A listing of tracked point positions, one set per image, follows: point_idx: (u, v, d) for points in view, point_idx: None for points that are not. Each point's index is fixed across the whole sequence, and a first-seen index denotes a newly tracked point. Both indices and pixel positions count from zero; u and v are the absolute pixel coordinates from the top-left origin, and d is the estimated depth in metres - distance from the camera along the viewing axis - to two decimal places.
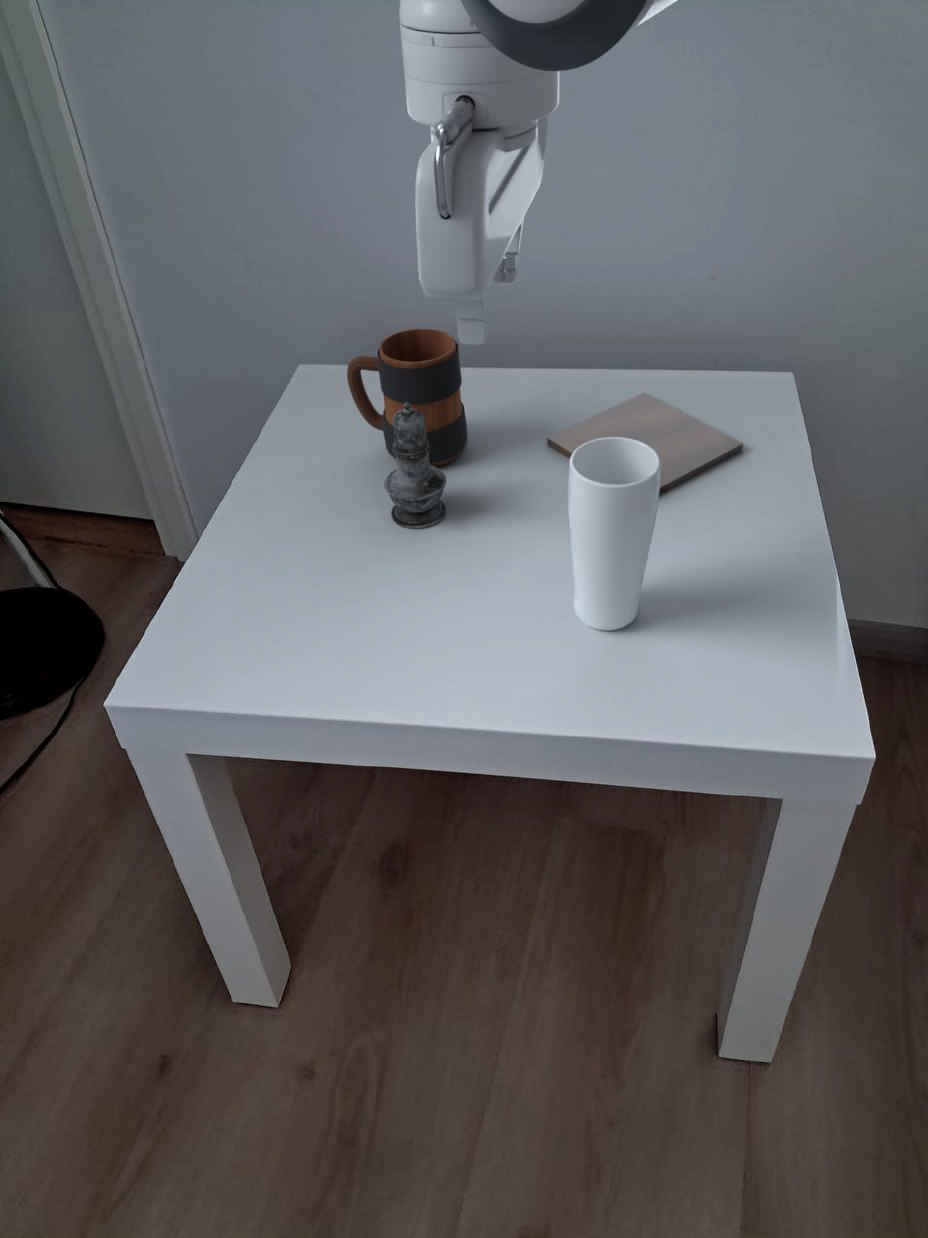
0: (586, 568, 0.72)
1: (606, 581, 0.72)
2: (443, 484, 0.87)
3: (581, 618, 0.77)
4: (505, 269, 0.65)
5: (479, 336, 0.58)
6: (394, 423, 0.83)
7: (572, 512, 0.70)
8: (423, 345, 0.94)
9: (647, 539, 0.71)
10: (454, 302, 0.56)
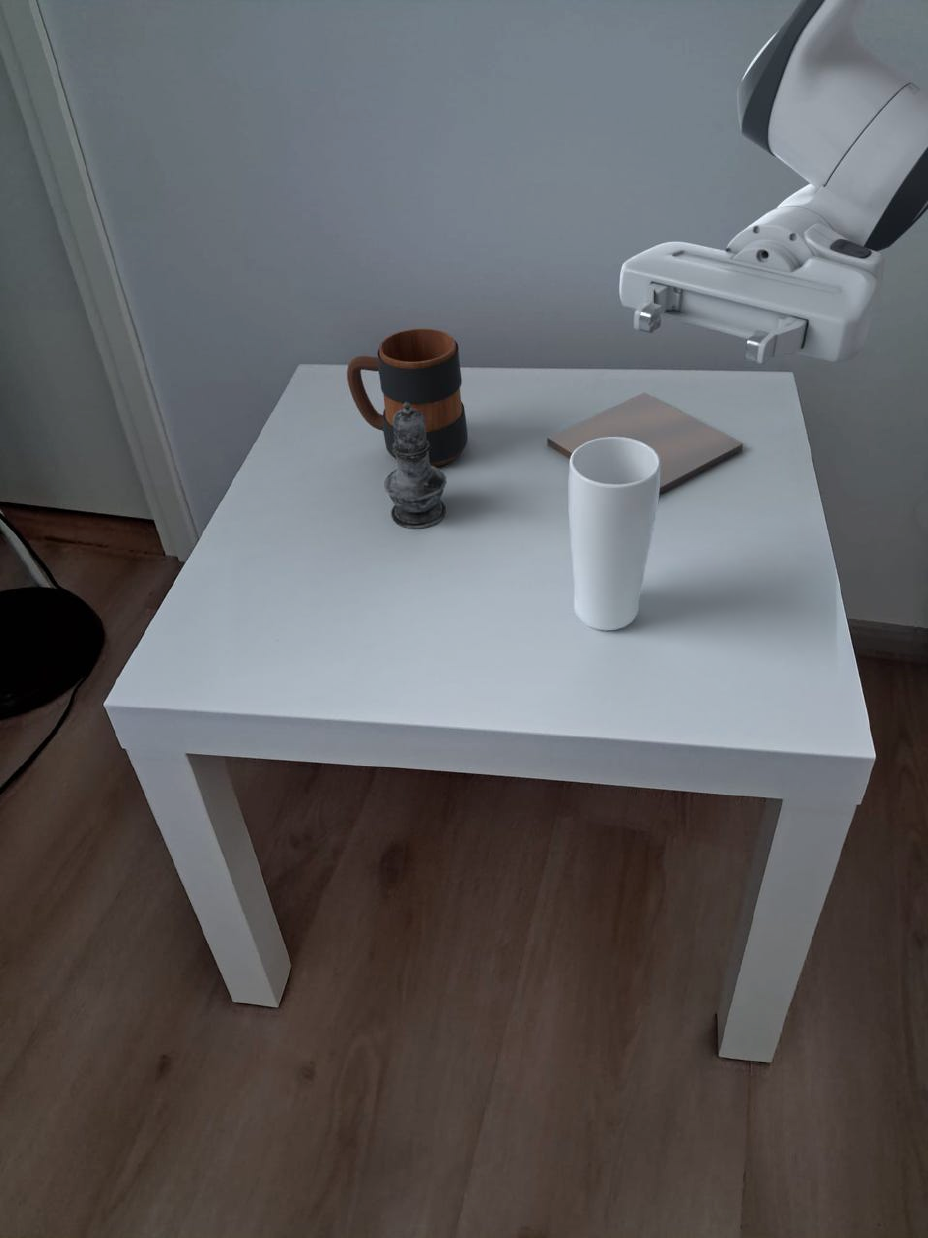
0: (586, 568, 0.72)
1: (606, 581, 0.72)
2: (443, 484, 0.87)
3: (581, 618, 0.77)
4: None
5: None
6: (394, 423, 0.83)
7: (572, 512, 0.70)
8: (423, 345, 0.94)
9: (647, 539, 0.71)
10: None
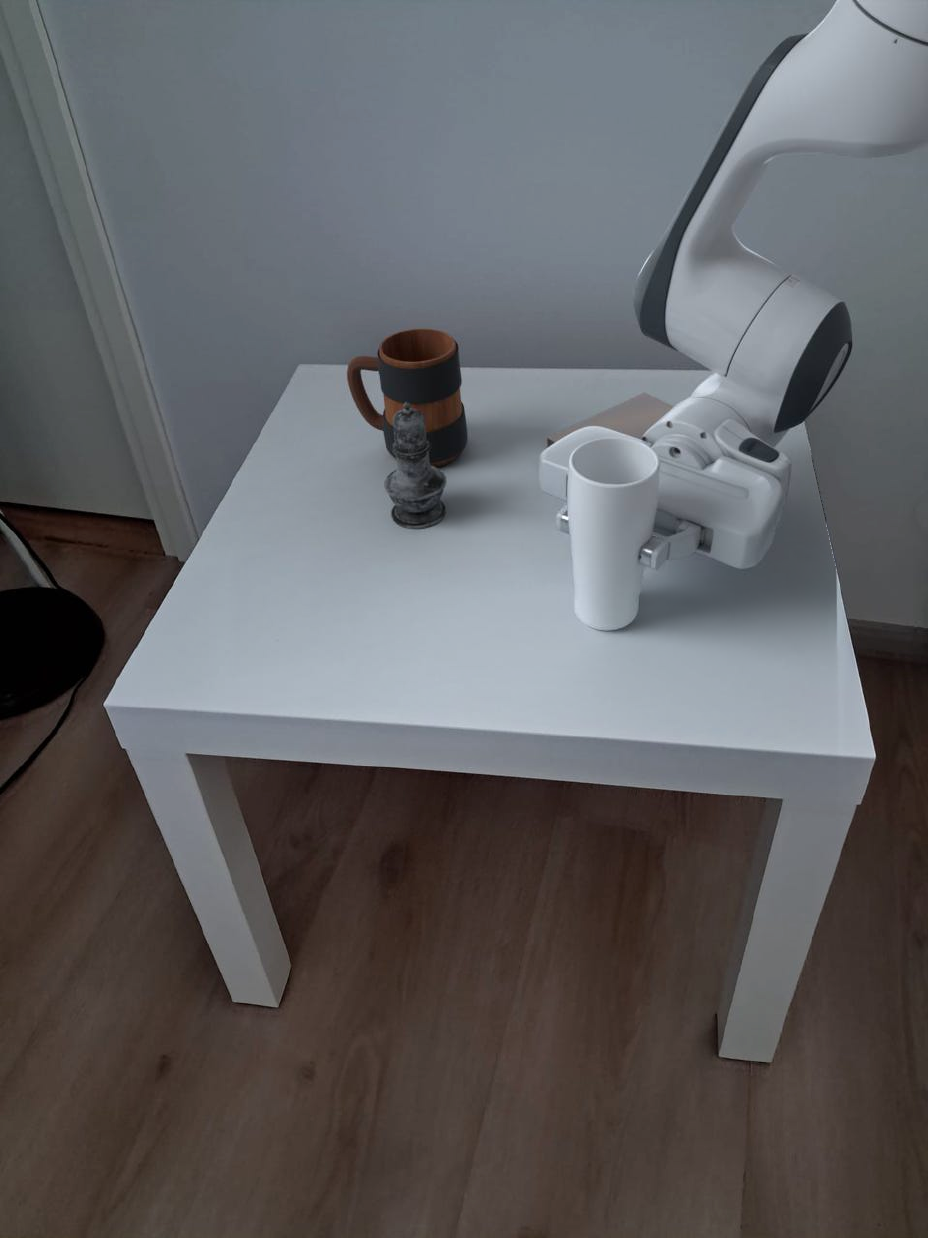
0: (586, 568, 0.72)
1: (606, 581, 0.72)
2: (443, 484, 0.87)
3: (581, 618, 0.77)
4: None
5: None
6: (394, 423, 0.83)
7: (571, 512, 0.70)
8: (423, 345, 0.94)
9: (647, 539, 0.71)
10: None
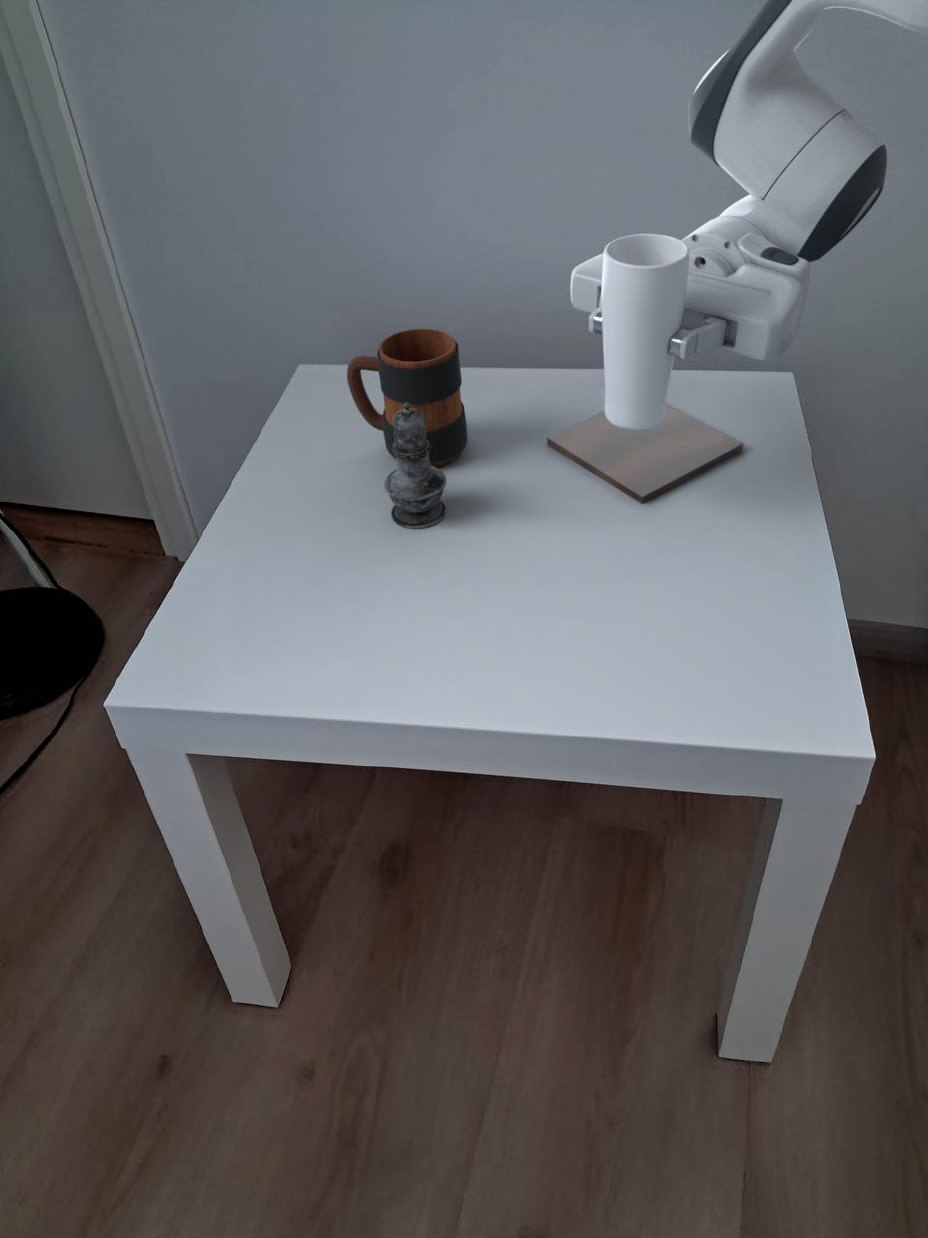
0: (618, 361, 0.77)
1: (637, 373, 0.77)
2: (443, 484, 0.87)
3: (611, 419, 0.82)
4: None
5: None
6: (394, 423, 0.83)
7: (606, 303, 0.75)
8: (423, 345, 0.94)
9: (676, 330, 0.76)
10: None
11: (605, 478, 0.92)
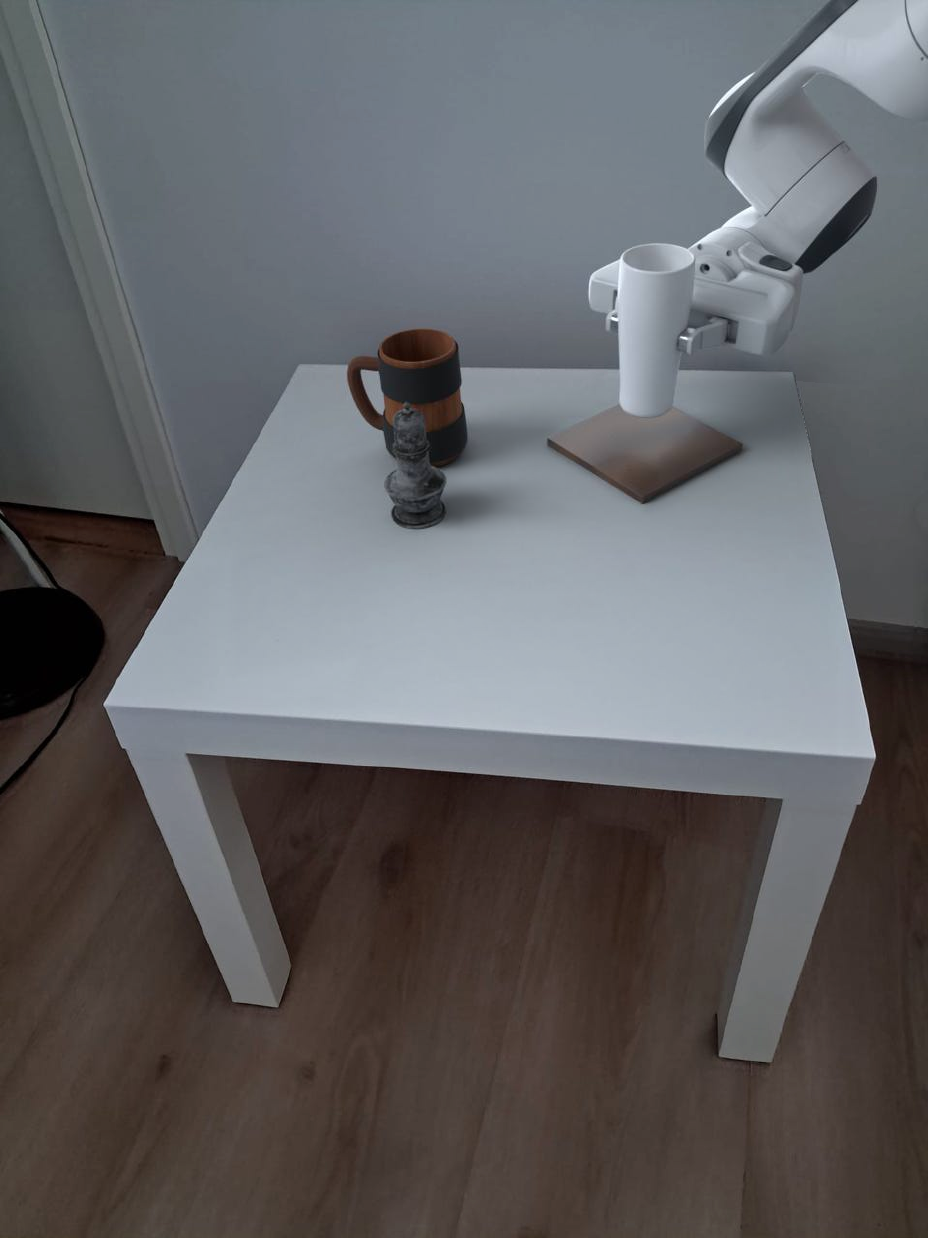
0: (632, 355, 0.87)
1: (649, 366, 0.87)
2: (443, 484, 0.87)
3: (626, 408, 0.92)
4: None
5: None
6: (394, 423, 0.83)
7: (621, 304, 0.85)
8: (423, 345, 0.94)
9: (683, 328, 0.86)
10: None
11: (605, 478, 0.92)
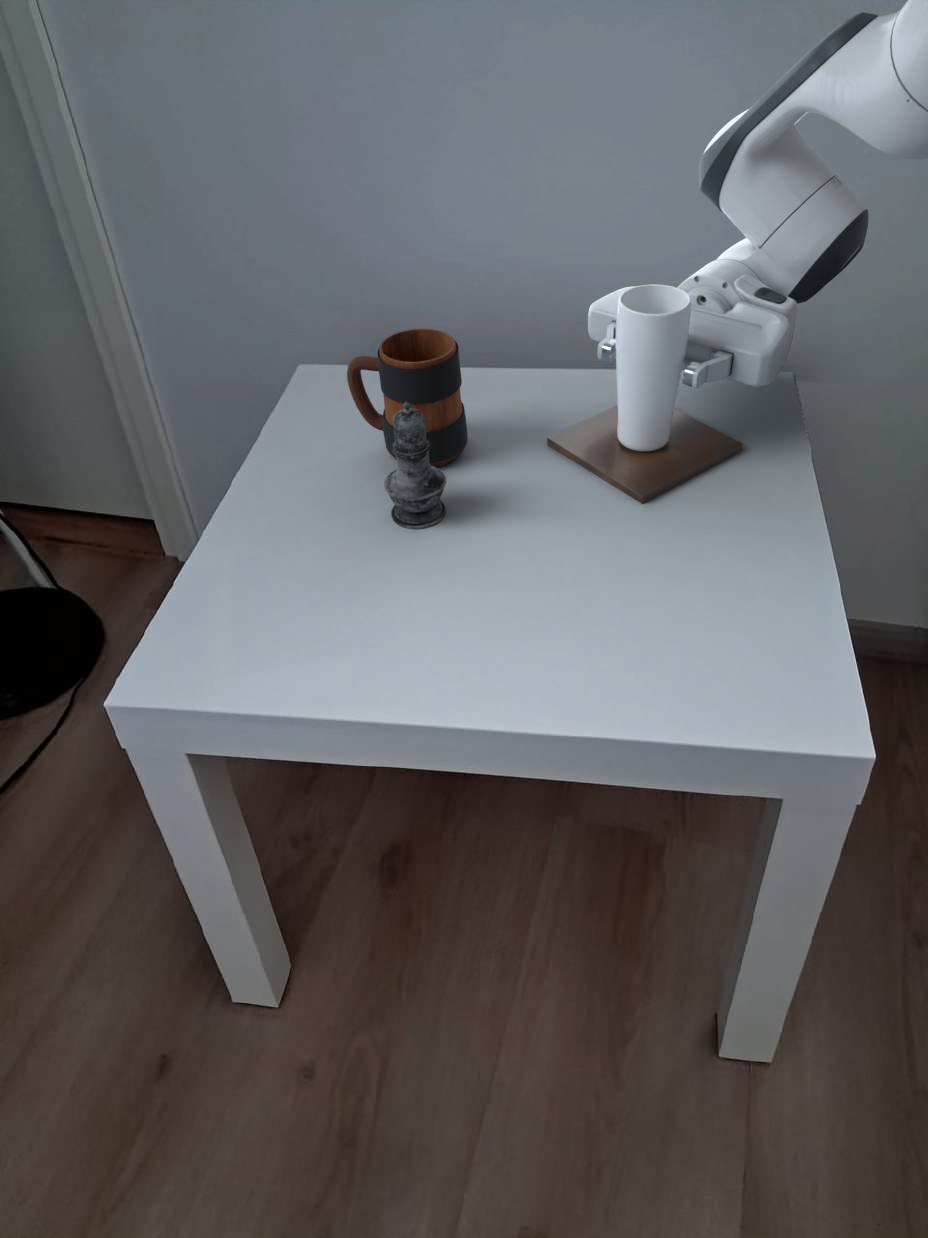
0: (630, 392, 0.90)
1: (646, 403, 0.90)
2: (443, 484, 0.87)
3: (623, 442, 0.94)
4: None
5: None
6: (394, 423, 0.83)
7: (619, 343, 0.88)
8: (423, 345, 0.94)
9: (679, 367, 0.88)
10: None
11: (605, 478, 0.92)
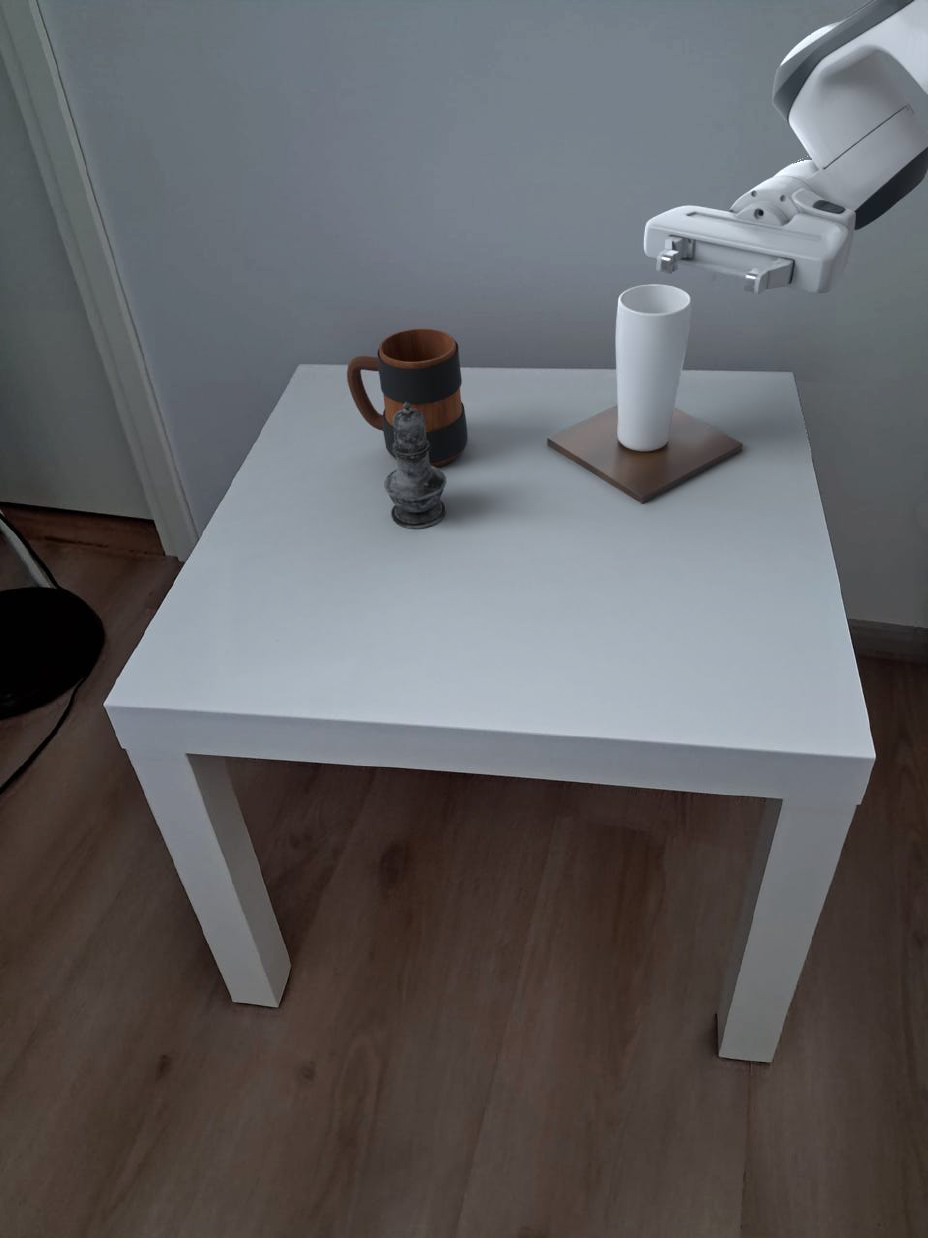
0: (630, 392, 0.90)
1: (646, 403, 0.90)
2: (443, 484, 0.87)
3: (623, 442, 0.94)
4: None
5: None
6: (394, 423, 0.83)
7: (619, 343, 0.88)
8: (423, 345, 0.94)
9: (679, 367, 0.88)
10: None
11: (605, 478, 0.92)
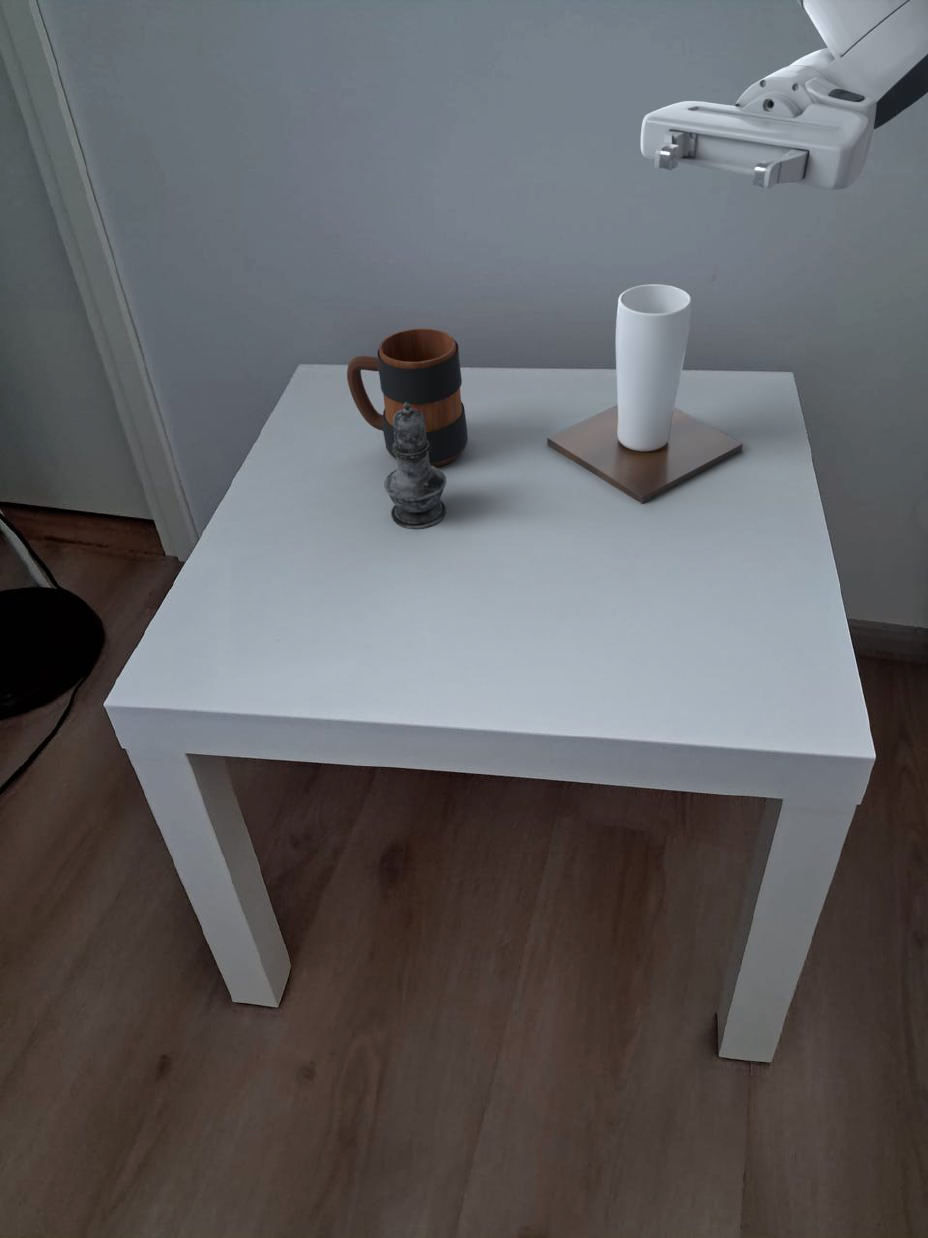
0: (630, 392, 0.90)
1: (646, 403, 0.90)
2: (443, 484, 0.87)
3: (623, 442, 0.94)
4: None
5: None
6: (394, 423, 0.83)
7: (619, 343, 0.88)
8: (423, 345, 0.94)
9: (679, 366, 0.88)
10: None
11: (605, 478, 0.92)
